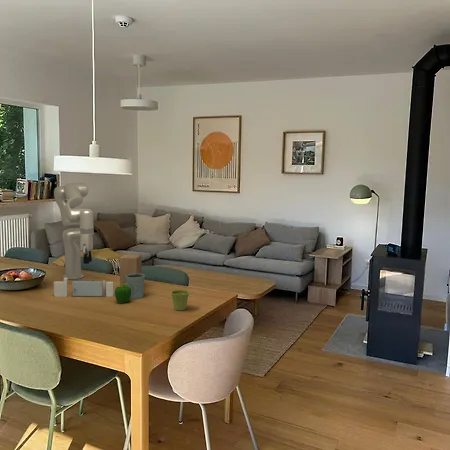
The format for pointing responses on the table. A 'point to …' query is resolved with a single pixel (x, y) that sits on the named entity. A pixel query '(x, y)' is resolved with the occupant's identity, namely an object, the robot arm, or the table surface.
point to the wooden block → (129, 266)
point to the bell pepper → (122, 294)
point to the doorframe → (62, 288)
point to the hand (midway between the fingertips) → (87, 262)
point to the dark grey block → (86, 280)
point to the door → (87, 288)
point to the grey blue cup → (136, 285)
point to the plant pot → (180, 299)
